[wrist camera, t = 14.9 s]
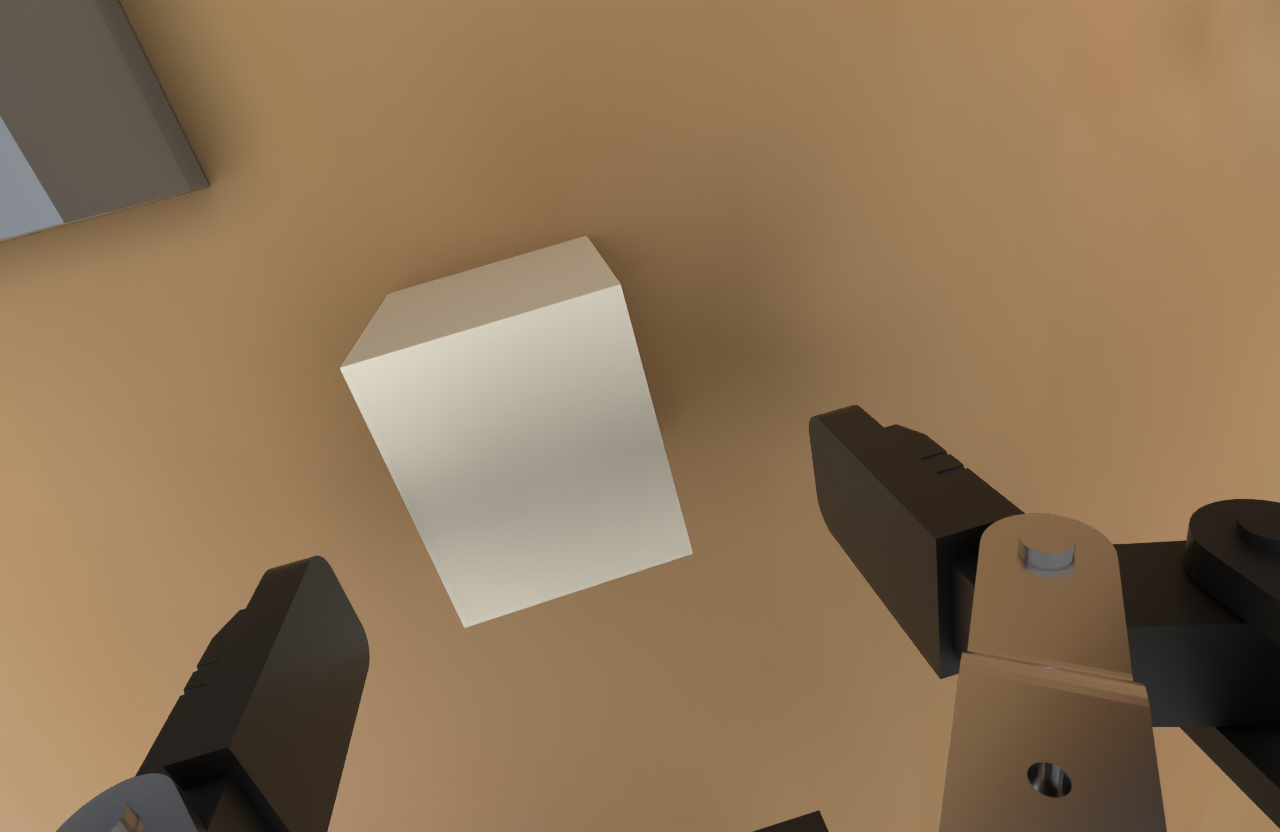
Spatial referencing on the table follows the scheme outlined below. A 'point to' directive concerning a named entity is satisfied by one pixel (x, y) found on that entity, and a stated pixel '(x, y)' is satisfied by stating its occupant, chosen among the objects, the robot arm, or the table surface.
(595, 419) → the cream box
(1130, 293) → the table surface
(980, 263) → the table surface
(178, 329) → the table surface
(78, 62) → the tote
